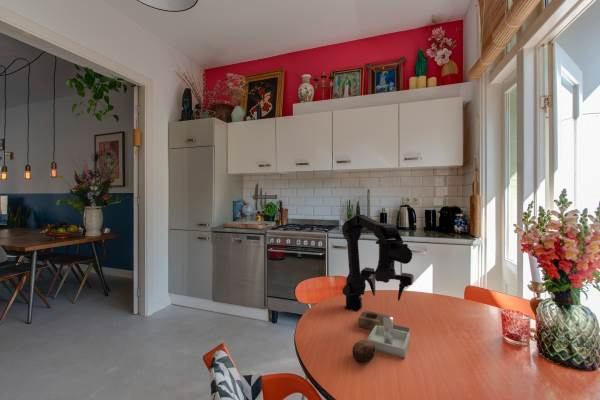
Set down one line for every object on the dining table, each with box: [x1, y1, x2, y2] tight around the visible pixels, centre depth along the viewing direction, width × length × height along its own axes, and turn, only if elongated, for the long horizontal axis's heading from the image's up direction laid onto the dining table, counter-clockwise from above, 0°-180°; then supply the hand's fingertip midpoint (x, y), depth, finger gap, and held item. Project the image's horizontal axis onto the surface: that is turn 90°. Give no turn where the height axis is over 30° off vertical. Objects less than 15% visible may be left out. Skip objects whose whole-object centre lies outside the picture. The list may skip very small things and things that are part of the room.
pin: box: [383, 314, 394, 345], centre depth 93 cm, size 3×3×9 cm
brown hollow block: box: [357, 310, 385, 332], centre depth 107 cm, size 8×8×4 cm
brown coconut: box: [351, 339, 376, 365], centre depth 84 cm, size 8×8×6 cm
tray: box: [366, 325, 411, 359], centre depth 93 cm, size 12×12×3 cm
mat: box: [393, 324, 410, 333], centre depth 103 cm, size 7×7×1 cm
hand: (386, 298), depth 103 cm, fingers open, 9 cm apart
